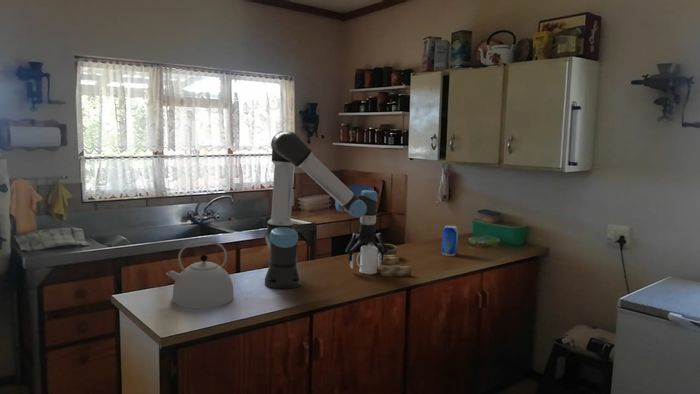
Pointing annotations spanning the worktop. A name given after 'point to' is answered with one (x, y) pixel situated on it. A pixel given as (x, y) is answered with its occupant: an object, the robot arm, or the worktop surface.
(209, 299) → the kettle
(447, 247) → the beer can
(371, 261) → the mug
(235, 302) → the worktop surface
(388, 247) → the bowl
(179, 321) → the worktop surface
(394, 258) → the rack
